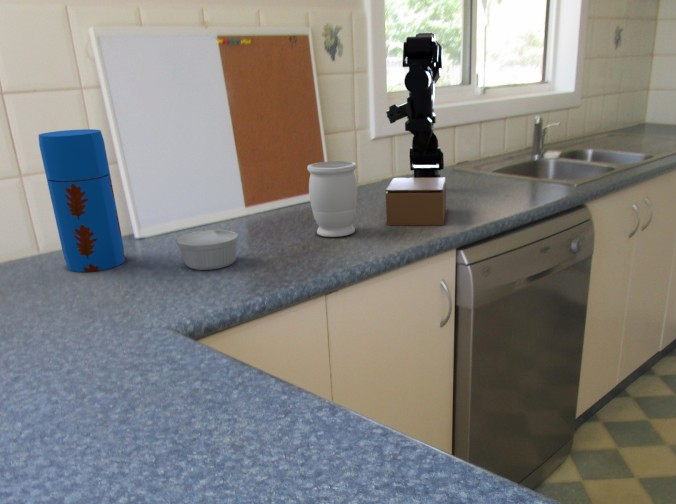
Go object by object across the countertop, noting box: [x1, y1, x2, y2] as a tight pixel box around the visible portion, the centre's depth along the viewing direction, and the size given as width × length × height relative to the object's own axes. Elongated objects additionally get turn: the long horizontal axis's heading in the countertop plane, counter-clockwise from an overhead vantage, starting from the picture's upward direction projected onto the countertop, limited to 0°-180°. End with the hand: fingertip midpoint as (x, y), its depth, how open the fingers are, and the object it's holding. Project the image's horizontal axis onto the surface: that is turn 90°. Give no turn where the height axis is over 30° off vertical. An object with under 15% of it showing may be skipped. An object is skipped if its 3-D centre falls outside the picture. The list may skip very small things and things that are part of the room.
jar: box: [307, 160, 359, 238], centre depth 144 cm, size 11×10×15 cm
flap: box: [389, 176, 447, 184], centre depth 158 cm, size 7×13×1 cm, turn 84°
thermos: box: [38, 128, 126, 273], centre depth 125 cm, size 11×11×25 cm
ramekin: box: [176, 229, 239, 271], centre depth 127 cm, size 11×11×5 cm
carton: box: [385, 179, 447, 226], centre depth 156 cm, size 15×13×8 cm
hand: (421, 156), depth 167 cm, fingers closed
